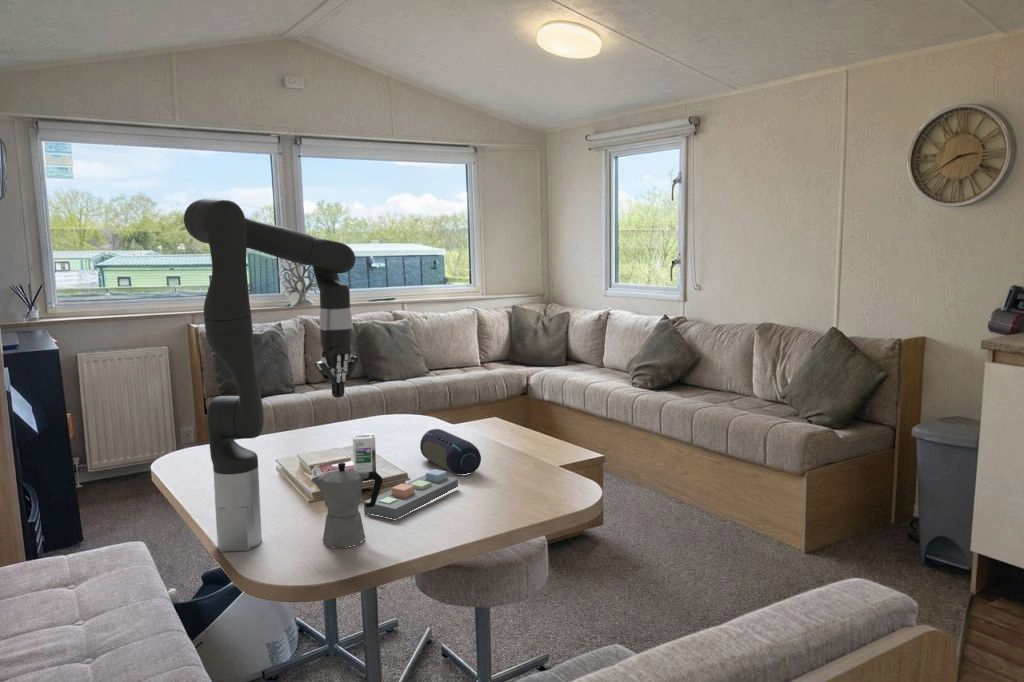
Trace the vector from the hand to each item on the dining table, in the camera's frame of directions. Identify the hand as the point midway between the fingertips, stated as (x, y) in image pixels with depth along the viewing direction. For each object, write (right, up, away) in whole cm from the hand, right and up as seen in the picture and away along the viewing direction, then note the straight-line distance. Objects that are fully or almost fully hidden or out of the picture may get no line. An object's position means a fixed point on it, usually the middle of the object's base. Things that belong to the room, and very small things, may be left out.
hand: (338, 396), depth 175 cm
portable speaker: (+24, -25, +40) cm, 52 cm away
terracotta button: (+15, -27, +7) cm, 31 cm away
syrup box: (+2, -27, +22) cm, 35 cm away
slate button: (+22, -25, +19) cm, 38 cm away
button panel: (+17, -28, +10) cm, 34 cm away
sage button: (+18, -27, +13) cm, 35 cm away
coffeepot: (+6, -31, -15) cm, 35 cm away
